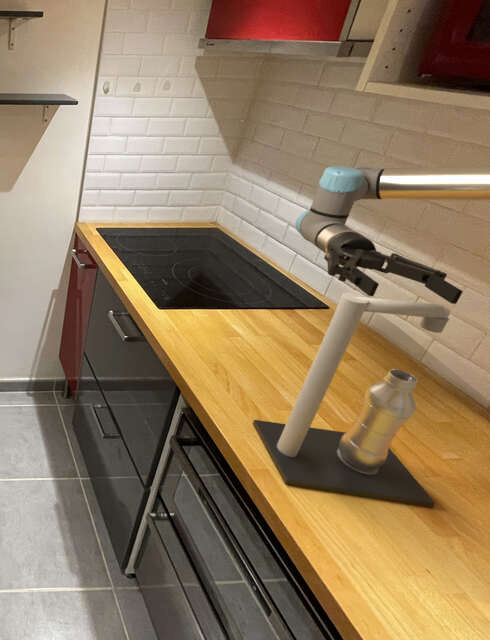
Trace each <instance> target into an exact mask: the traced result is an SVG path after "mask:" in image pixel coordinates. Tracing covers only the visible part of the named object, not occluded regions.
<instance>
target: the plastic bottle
mask: <svg viewBox="0 0 490 640" xmlns="http://www.w3.org/2000/svg"><path fill="white" fill-rule="evenodd" d="M417 384H418V378H417V377H415V375H413V374H411V373H410V372H407V371H406V370H402V369H398V368H391V369H389V371H388V372H387V374H386V375H385V376H384V377H383V381H379V382H376V383H373V384H372V385H371V386H369V387H368V388H367V389H366V391H365V393H364V397H363V400H362V403H361V408H360V410H359V412H358V415H357V417H356V419H355V421H354V422H353V423H352V425H351V426H350V428H349V429H348V430H347V431H346V433H345V434H344V435H343V436H342V438H341V439H340V443H339V450H340V452H341V454H342V456H343V457H344V458H345V459H346V460H347V461H348V462H349V463H351V464H353V465H354V466H356V467H359V468H361V469H365V470H374V469H378V468H380V467H381V466H382V465H383V464H384V463H385V461H386V458H387V455H388V449H389V448H390V447H391V444H392V442H393V439H394V437H395V436H396V435H397V433H398V432H399V430H400V429H401V427H402V426H403V425H405V423H407V421H408V420H409V419H410V418H411V417H412V416H413V415H414V413H415V412H416V406H417V404H416V400H415V397H414V395H413V394H412V393H413V392H414V391H415V389H416V386H417Z"/></svg>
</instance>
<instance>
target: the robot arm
mask: <svg viewBox="0 0 490 640" xmlns="http://www.w3.org/2000/svg"><path fill="white" fill-rule="evenodd" d="M360 200H397V201H399V200H401V201H402V200H403V201H440V202H441V201H443V202H444V201H445V202H446V201H448V202H450V201H451V202H486V203H487V202H490V165H483V166H481V165H479V166H477V165H475V166H438V167H436V166H435V167H434V166H433V167H399V168H398V167H395V168H394V167H393V168H392V167H391V168H372V167H368V166H367V167H365V166H363V167H349V166H344V165H343V166H341V165H337V166H336V165H334V166H333V165H331V166H328V167H327V168H325V169H324V171H323V173H322V176H321V178H320V179H319V180H318V186H317V189H316V192H315V195H314V198H313V200H312V203H311V206H310V208H309V210H306V211H304V212H302V213H301V215H299V216H298V217H297V219H296V221H295V229H296V231H297V232H298V234H299V235H301V237H302V238H303V239H304V240H306V241H307V242H309V243H311V244H312V245H313V246H315V247H316V248H318V249H319V250H321V251H322V252H323V253H324V254H325V255H324V258H323V259H324V260H325V261H326V262H327V275H329V276H331V277H335V276H337V275H338V279H337V280H338V281H340V282H346V281H348V282H349V283H351V284H353V285H354V286H356V288H358V289H359V290H360V291H362V292H363V293H365V294H366V295H367V296H368V297H374V296H375V294H376V291H377V289H378V287H379V285H380V283H379V282H377V281H375V279H373V278H371V277H370V276H369V275H368V274H366V273H365V272H363V271H362V270H360V269H359V268H361V269H368V270H374V271H377V272H379V273H382V274H383V273H384V274H389V273H390V274H393V275H397V276H399V277H403V278H405V279H409V280H411V281H415V282H418V283H419V284H424V287H425V288H426V289H428V290H430V291H431V292H433V293H434V294H436V295H437V296H439V297H440V298H442V299H444V300H445V301H447V302H448V303H450V304H453V305H454V304H455V305H457V303H458V302H459V300H460V298H461V296H462V294H463V292H464V291H463V290H461V289H460V288H458V287H456V286H455V285H454V284H452V283H450V282H449V281H446V278H447V276H448V273H446V272H443V271H441V270H439V269H435V268H433V267H430V266H428V265H426V264H422V263H419V262H417V261H414V260H412V259H408V258H407V257H404V256H402V255H400V254H398V253H396V252H395V253H394V252H392V253H391V254H390V255H387V254H383V253H381V252H380V251H378V250H377V249H376V246H375V244H374V242H373V241H372V240H370V239H369V238H367V237H366V236H364V235H362V233H361V234H360V233H359V232H358V231H356V230H355V229H353V228H351V227H349V226H348V225H346V223H347V220H348V218H349V216H350V213H351V211H352V208H353V206H354V203H355V202H357V201H360ZM385 263H386V266H385V268H384V265H385Z"/></svg>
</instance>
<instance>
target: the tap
mask: <svg viewBox="0 0 490 640" xmlns="http://www.w3.org/2000/svg"><path fill="white" fill-rule="evenodd" d="M364 312H368V313H369V312H370V313H377V314H389V315H390V314H391V315H399V316H408V317H416V318H417V317H418V318H421V320H420V322H419V324H418V325H419V327H420V328H422V329H423V330H425V331H428V332H431V333H434V334H435V333H436V334H441V333H442V332H443V331H444V329H445V327H446V326H447V323H449V321H450V319H449V318H450V317H449V316H451V315H450V314H451V311H450V309H449V307H447V305H443V304H438V303H437V304H436V303H427V302H419V301H418V302H416V301H405V300H398V299H397V300H395V299H386V298H385V299H384V298H376V297H365V296H362V295H360V294H357V293H353V292H343V293H342V295H341V297H340V300H339V302H338V304H337V306H336V309H335V311H334V314H333V315H332V318H331V321H330V323H329V325H328V327H327V330H326V332H325V333H324V336H323V338H322V340H321V343H320V345H319V347H318V350H317V352H316V355H315V357H314V359H313V362H312V364H311V366H310V368H309V370H308V373H307V375H306V378H305V379H304V382H303V384H302V387H301V389H300V391H299V394H298V395H297V398H296V400H295V403H294V405H293V407H292V409H291V412H290V414H289V416H288V418H287V420H286V423H282V422H273V421H267V420H260V419H254V420H253V421H252V425H253V427H254V429H255V432H256V433H257V435H258V437H259V439H260V441H261V442H262V444H263V446H264V448H265V450H266V452H267V453H268V455H269V457H270V459H271V461H272V462H273V465H274V466H275V468H276V470H277V472H278V474H279V476H280V477H281V479H282V481H283V482H284V485H288V486H294V487H300V488H307V489H312V490H318V491H324V492H325V491H326V492H331V493H337V494H343V495H344V494H345V495H351V496H357V497H363V498H369V499H376V500H382V501H388V502H394V503H401V504H407V505H413V506H420V507H426V508H432V509H433V508H434V506H435V505H436V502H435V500H434V499H433V498H432V497H431V496H430V495H429V493H428V492H427V491H426V490H425V488H424V487H423V486H422V485H421V484H420V483H419V481H418V480H417V479H416V478H415V476H414V475H413V474H412V473H411V472H410V471H409V469H408V468H407V467H406V466H405V465H404V464H403V462H402V461H401V460H400V459H399V457H398V456H397V455H396V454H395V453H394V452H393V451H392V449H391V448H390V447H389V449H388V455H387V458H386V461H385V463H384V464H383V465H382V466H381V467H380V468H378V469H374V470H365V469H361V468H359V467H356V466H354V465H353V464H351V463H349V462H348V461H347V460H346V459H345V458H344V457H343V456H342V454H341V452H340V450H339V443H340V439H341V438H342V436H343V435H344V434H345V433H346V432H347V431H346V432H345V431H338V430H332V429H323V428H317V427H311V426H312V424H313V421H314V420H315V418H316V415H317V414H318V412H319V408H320V407H321V404H322V403H323V400H324V398H325V396H326V393H327V391H328V389H329V387H330V386H331V383H332V381H333V379H334V378H335V374H336V372H337V371H338V368H339V366H340V364H341V362H342V360H343V358H344V355H345V353H346V352H347V349H348V347H349V344H350V342H351V341H352V338H353V336H354V334H355V332H356V330H357V327H358V325H359V323H360V321H361V318H362V317H363V315H364Z"/></svg>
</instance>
